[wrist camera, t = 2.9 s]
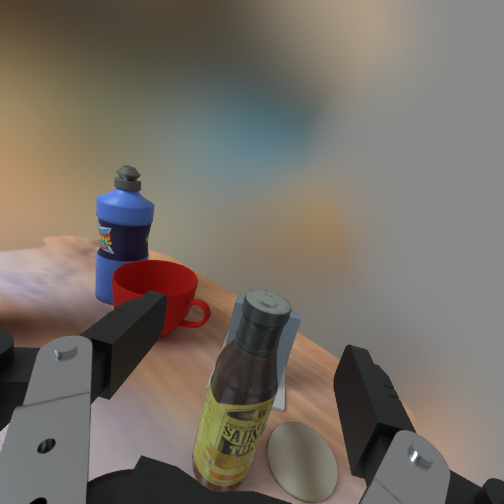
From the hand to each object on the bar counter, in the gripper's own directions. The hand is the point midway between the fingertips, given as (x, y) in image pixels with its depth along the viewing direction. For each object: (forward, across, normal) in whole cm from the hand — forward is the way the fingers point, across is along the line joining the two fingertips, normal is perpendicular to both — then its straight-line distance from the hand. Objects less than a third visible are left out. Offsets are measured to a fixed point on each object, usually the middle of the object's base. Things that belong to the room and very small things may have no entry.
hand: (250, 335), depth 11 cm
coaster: (+12, -9, +23) cm, 28 cm away
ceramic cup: (+26, +15, +23) cm, 38 cm away
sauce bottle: (+10, 0, +23) cm, 25 cm away
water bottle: (+34, +28, +23) cm, 49 cm away
